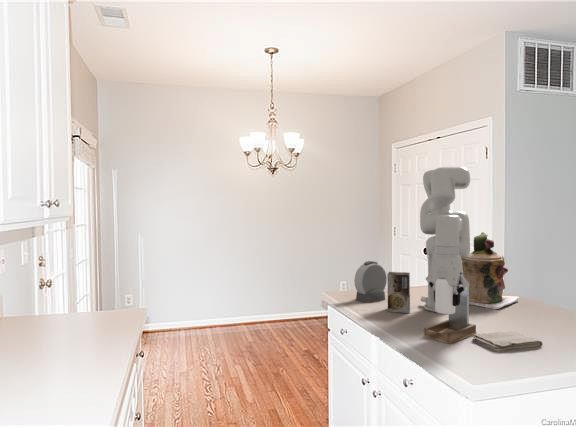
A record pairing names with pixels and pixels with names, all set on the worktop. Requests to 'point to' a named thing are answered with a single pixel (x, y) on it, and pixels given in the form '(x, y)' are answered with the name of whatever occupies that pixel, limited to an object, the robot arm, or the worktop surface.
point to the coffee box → (398, 292)
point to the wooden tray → (448, 332)
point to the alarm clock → (370, 282)
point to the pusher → (461, 312)
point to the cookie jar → (486, 275)
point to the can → (444, 297)
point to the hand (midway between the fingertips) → (446, 303)
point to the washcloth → (506, 341)
